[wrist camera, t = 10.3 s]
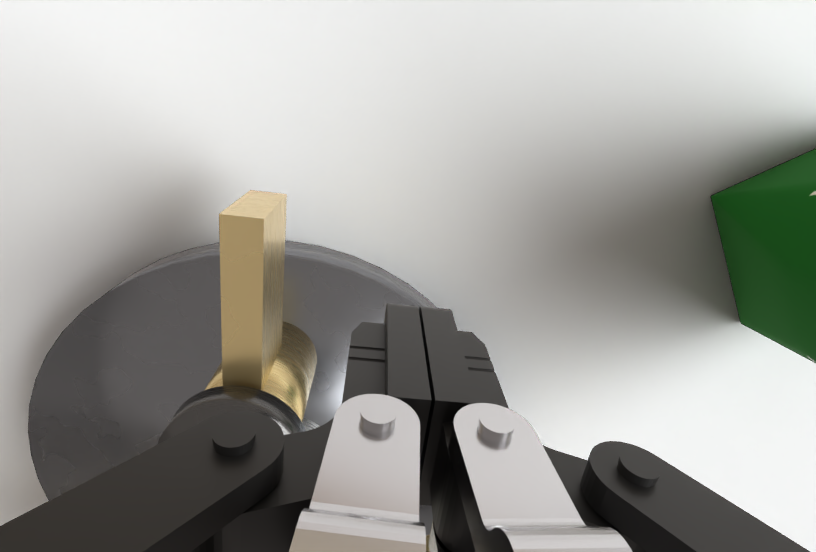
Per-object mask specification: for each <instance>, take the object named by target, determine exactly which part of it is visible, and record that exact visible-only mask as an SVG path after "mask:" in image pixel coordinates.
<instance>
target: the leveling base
mask: <svg viewBox="0 0 816 552" xmlns="http://www.w3.org/2000/svg"><path fill="white" fill-rule="evenodd" d="M387 303H389V304H399V305H409V306H418V309H419V307H429V308H437V307H436V306H435V305H434V304H433V303H432V302H430V301H429V300H428V299H427V298H425V297H424V296H423V295H422V294H420V293H419V292H418V291H416V290H415V289H414V288H413V287H411V286H410V285H409V284H407V283H406V282H404V281H402V280H400V279H399V278H397V277H395V276H394V275H392V274H390V273H389V272H387V271H385V270H384V269H382V268H380V267H377V266H375V265H373V264H370V263H368V262H366V261H363V260H361V259H359V258H357V257H354V256H352V255H348V254H345V253H341V252H338V251H335V250H331V249H328V248H324V247H321V246H315V245H309V244H303V243H297V242H291V241H285V260H284V290H283V321H284V322H287V323H290V324H292V325H294V326H296V327H298V328H299V329H301V330H302V331H303V332H304V333H306V334H307V336H308V337H309V338H310V339H311V341H312V342H313V345H314V347H315V350H316V354H317V364H316V369H315V373H314V377H313V381H312V385H311V389H310V393H309V397H308V401H307V405H306V409H305V413H304V417H303V421H302V423H303V425H304V427H305V430H306V431H308V430H312V429H315V428H318V427H320V426H322V425H324V424H325V423H327V422H329V421H330V420H331V419H332V418H333V417H334V416H335V413H336V411H337V409H338V408H339V406H340V405H341V404H342V399H343V391H344V384H345V377H346V370H347V362H348V355H349V348H350V341H351V333H352V331H353V330H354V329H355V328H357V327H358V326H359V325H360V324H361V323H362V322H370V323H380V324H384V319H385V311H386V305H387ZM221 362H222V332H221V283H220V243H216V244H211V245H206V246H201V247H197V248H192V249H188V250H185V251H183V252H180V253H177V254H174V255H171V256H169V257H166V258H163V259H160V260H158V261H156V262H154V263H153V264H151V265H149V266H147V267H145V268H143V269H141V270H139V271H137V272H135V273H134V274H132V275H131V276H129V277H128V278H127V279H125V280H124V281H123V282H121V283H120V284H118V285H117V286H116V287H114V288H113V289H112V290H110V291H109V292H108V293H106V294H105V295H104V296H102V297H101V298H100V299H98V300H97V301H95V302H94V303H93V304H91V305H90V306H89V307H87V308H86V309H85V310H83V311H82V312H81V313H80V314H79V315H78V316H77V317H76V318H75V319H74V321H73V322H72V323H71V324H70V325H69V326H68V327H67V328H66V329H65V330H64V331H63V332H62V333H61V335H60V336H59V338H58V339H57V340H56V342H55V343H54V345H53V346H52V348H51V349H50V351H49V352H48V354H47V355H46V357H45V360H44V362H43V364H42V366H41V368H40V371H39V373H38V375H37V377H36V380H35V384H34V388H33V392H32V396H31V400H30V404H29V422H28V434H29V442H30V450H31V456H32V460H33V463H34V466H35V470H36V473H37V476H38V479H39V481H40V484H41V486H42V488H43V490H44V492H45V494H46V496H47V498H48V500H49V501H50V500H52V499H54V498H56V497H58V496H60V495H62V494H63V493H65V492H67V491H69V490H71V489H73V488H75V487H77V486H79V485H81V484H83V483H85V482H87V481H89V480H91V479H92V478H94V477H96V476H98V475H100V474H102V473H104V472H106V471H108V470H110V469H112V468H114V467H116V466H118V465H119V464H121V463H123V462H125V461H127V460H129V459H131V458H133V457H135V456H137V455H139V454H141V453H143V452H145V451H146V450H148V449H150V448H152V447H154V446H156V445H157V444H158V441H159V438H160V437H161V435H162V433H163V432H164V430H165V428H166V427H167V425H168V424H169V422H170V421H171V419H172V418H173V416H174V415H175V413H176V411H177V410H178V409H179V408H180V406H181V405H182V404H183V403H184V402H185V401H187V400H188V399H189V398H191V397H192V396H194V395H195V394H197V393H199V392H201V391H204V390H205V388H206V387H207V385H208V383H209V382H210V380H211V378H212V377H213V375H214V373H215V372H216V370H217V368H218V367H219V365H220V363H221ZM419 522H422V523H424V525H425V531H426V536H427V535H430V531H431V527H432V522H433V514H432V506H430V505H419Z"/></svg>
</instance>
